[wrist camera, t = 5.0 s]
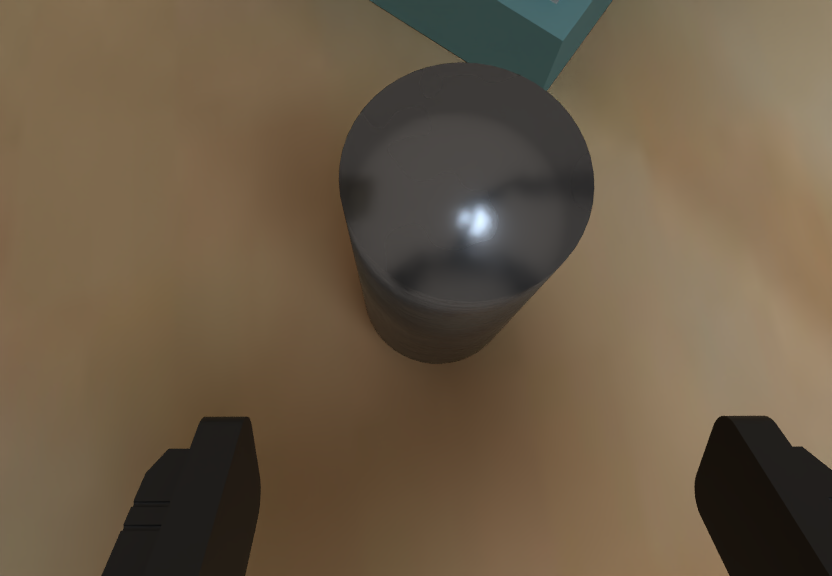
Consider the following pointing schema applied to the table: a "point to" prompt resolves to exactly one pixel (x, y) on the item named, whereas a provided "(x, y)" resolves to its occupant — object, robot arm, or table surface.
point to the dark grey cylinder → (460, 204)
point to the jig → (505, 30)
